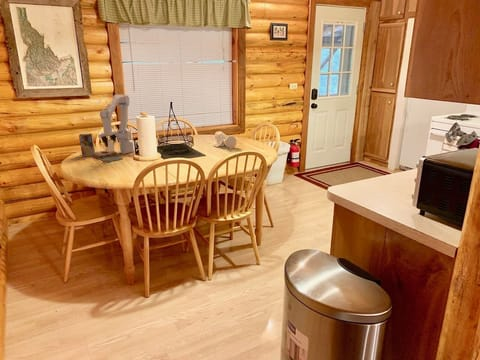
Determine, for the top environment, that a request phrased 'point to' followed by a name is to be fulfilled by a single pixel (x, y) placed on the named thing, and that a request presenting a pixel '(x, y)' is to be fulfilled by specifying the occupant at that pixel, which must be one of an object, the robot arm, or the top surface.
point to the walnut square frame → (104, 154)
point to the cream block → (110, 145)
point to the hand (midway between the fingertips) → (109, 145)
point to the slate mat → (111, 159)
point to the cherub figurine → (224, 140)
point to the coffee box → (87, 144)
